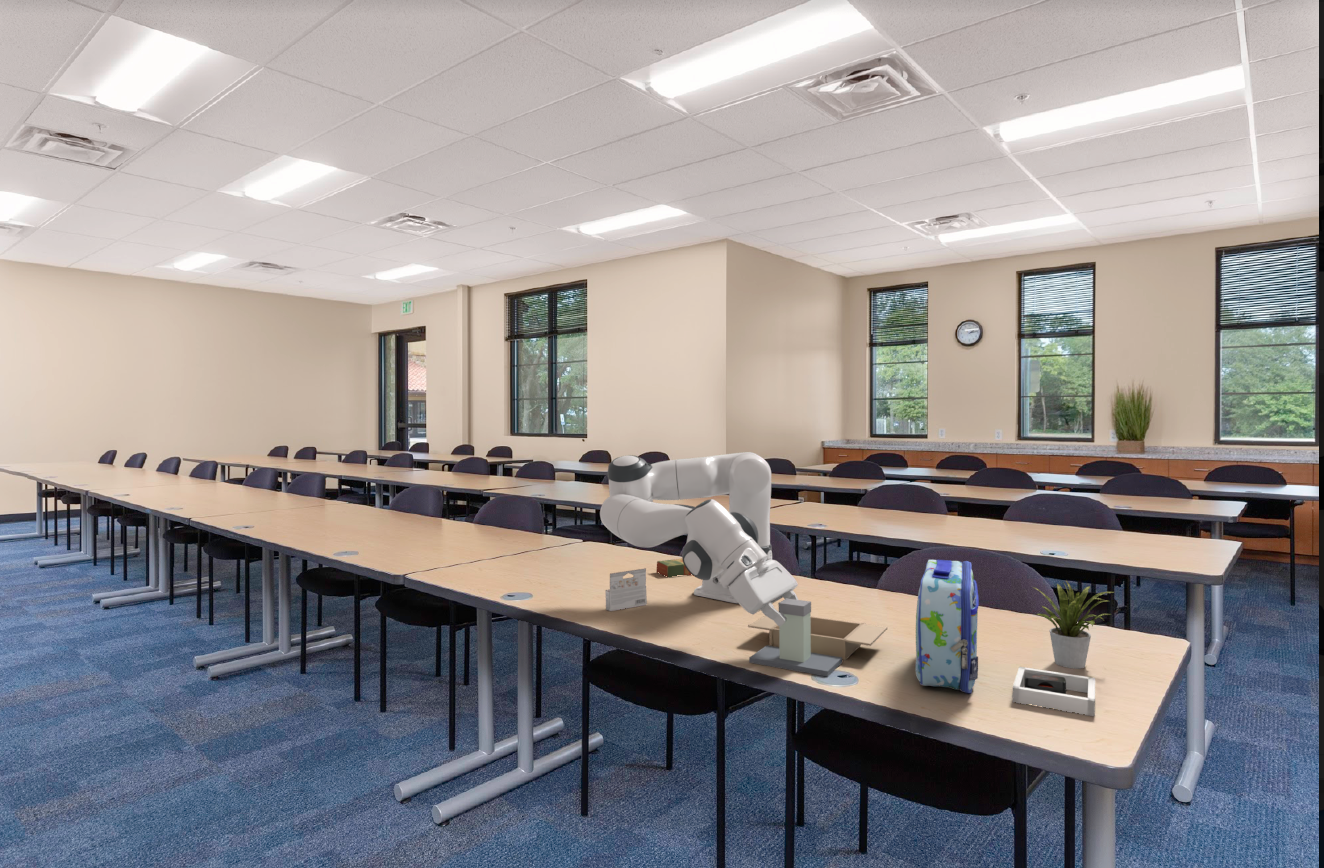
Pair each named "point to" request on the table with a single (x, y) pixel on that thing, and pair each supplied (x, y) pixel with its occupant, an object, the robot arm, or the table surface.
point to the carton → (672, 568)
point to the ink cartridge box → (626, 590)
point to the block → (795, 630)
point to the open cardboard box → (829, 635)
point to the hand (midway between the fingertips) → (792, 617)
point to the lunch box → (947, 626)
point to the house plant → (1071, 627)
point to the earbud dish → (1056, 699)
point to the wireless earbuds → (1045, 683)
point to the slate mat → (812, 665)
